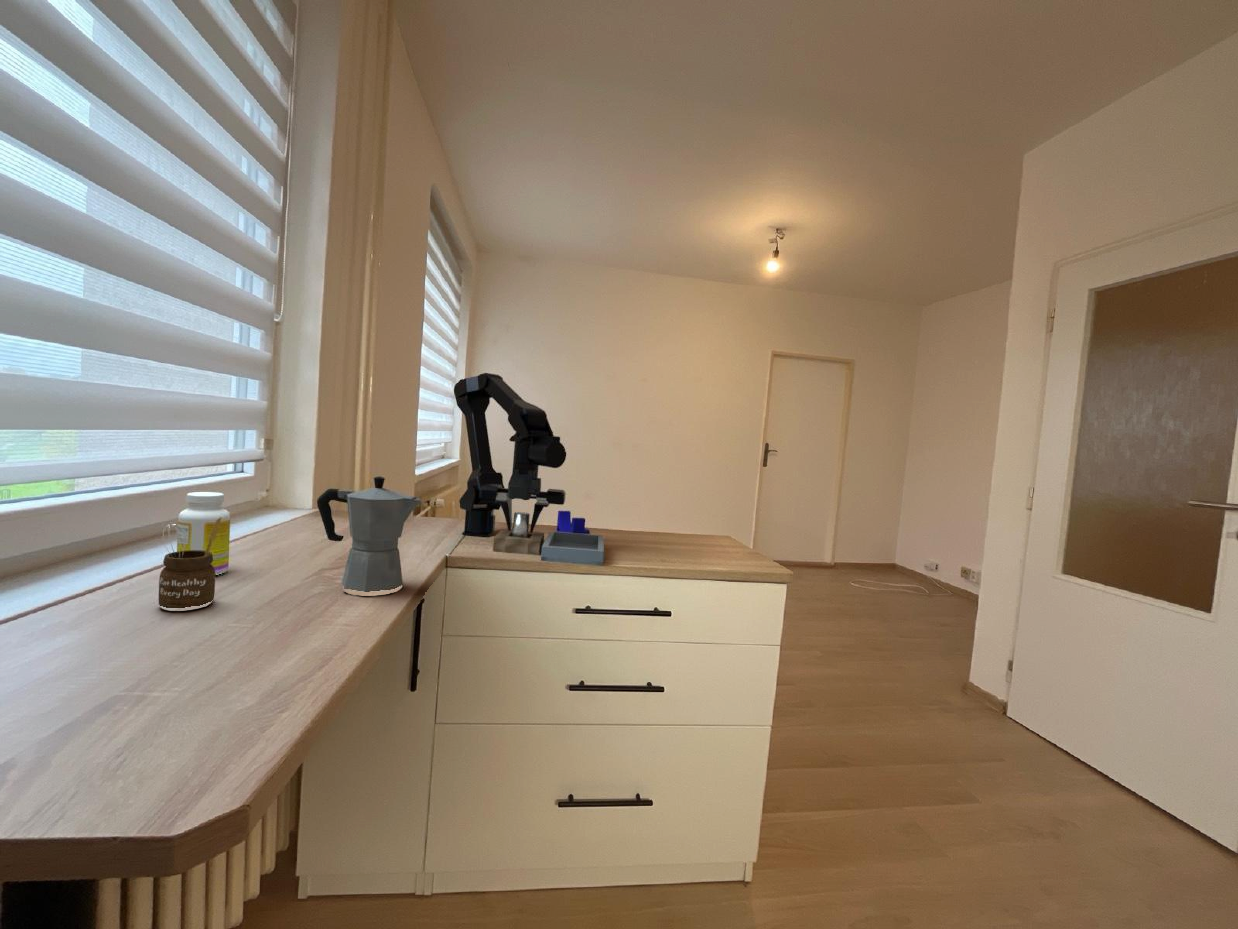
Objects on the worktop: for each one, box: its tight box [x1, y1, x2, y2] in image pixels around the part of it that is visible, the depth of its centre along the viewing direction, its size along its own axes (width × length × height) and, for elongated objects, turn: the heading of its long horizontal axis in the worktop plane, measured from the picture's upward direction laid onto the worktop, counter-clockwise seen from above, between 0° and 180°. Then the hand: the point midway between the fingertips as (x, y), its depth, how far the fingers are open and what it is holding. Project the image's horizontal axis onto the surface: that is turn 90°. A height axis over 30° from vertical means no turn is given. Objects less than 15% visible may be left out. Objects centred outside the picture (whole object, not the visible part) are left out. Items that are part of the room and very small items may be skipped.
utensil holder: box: [158, 517, 222, 608], centre depth 73 cm, size 6×6×12 cm
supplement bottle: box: [176, 491, 231, 575], centre depth 87 cm, size 7×7×13 cm
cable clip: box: [556, 510, 591, 534], centre depth 144 cm, size 12×4×6 cm, turn 26°
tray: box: [540, 530, 605, 566], centre depth 124 cm, size 13×18×3 cm
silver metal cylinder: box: [512, 511, 531, 538], centre depth 125 cm, size 4×4×8 cm
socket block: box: [492, 529, 545, 556], centre depth 125 cm, size 10×10×3 cm
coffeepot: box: [316, 476, 423, 592], centre depth 87 cm, size 15×9×18 cm, turn 101°
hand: (520, 531), depth 125 cm, fingers open, 5 cm apart
